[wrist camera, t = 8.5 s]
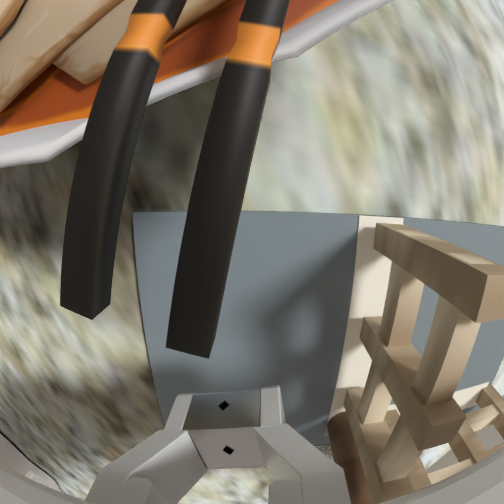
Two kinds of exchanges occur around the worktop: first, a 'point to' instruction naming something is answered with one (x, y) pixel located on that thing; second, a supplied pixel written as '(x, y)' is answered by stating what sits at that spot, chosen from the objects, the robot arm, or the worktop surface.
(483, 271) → the gate panel
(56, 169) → the worktop surface
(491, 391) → the fixed fence panel
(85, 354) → the worktop surface
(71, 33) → the ramen bowl
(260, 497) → the worktop surface
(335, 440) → the corner post
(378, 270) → the card
